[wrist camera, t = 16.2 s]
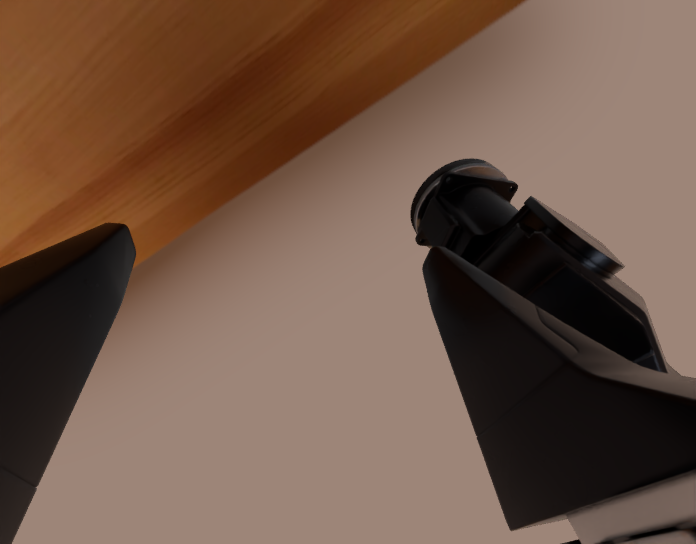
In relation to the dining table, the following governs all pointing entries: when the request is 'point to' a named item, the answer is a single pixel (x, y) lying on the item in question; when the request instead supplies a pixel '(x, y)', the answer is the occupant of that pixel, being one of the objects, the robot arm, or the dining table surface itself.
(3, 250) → the dining table surface
